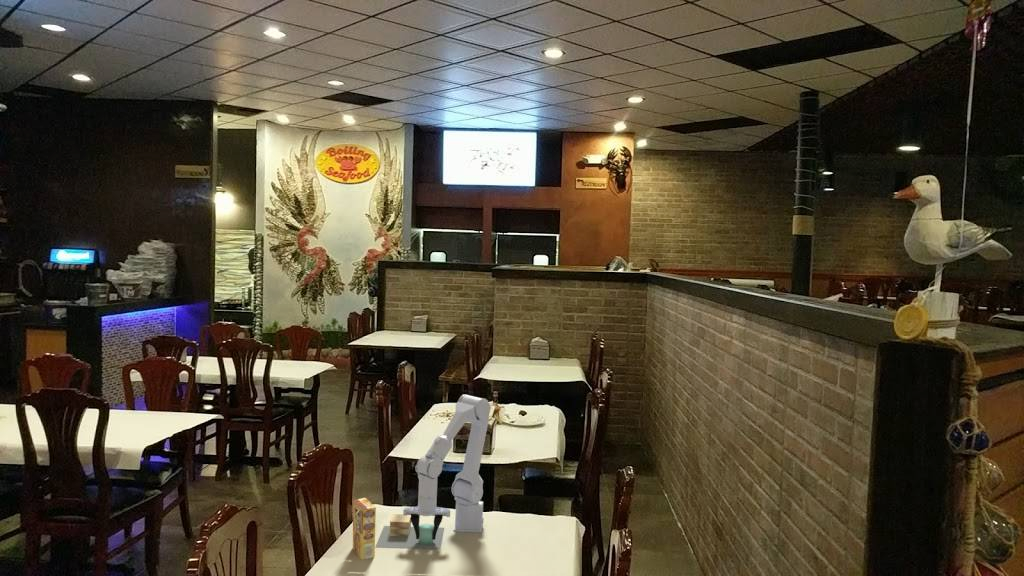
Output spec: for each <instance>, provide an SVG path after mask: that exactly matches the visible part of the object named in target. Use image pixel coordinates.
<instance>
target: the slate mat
mask: <svg viewBox="0 0 1024 576" xmlns="http://www.w3.org/2000/svg"><path fill="white" fill-rule="evenodd" d="M444 533H445V527H440V526H439V527H438V530H437V533H436V538H435V540H433V544H431V545H428V546H423V545H420V544H419V543H418V541H419V539H416V533H415V530H414V527H413V526H411V529H410V533H409V536H390V525H384V526H383V528H382V530H381V533H380V535H379V537H378V540H377V542H376V543H375V549H376V548H377V549H379V548H381V549H384V548H385V549H407V550H409V549H412V550H413V549H414V550H416V549H417V550H441V548H442V544H443V537H444Z"/></svg>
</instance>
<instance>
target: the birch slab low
mask: <svg viewBox="0 0 1024 576" xmlns="http://www.w3.org/2000/svg"><path fill="white" fill-rule="evenodd" d="M411 527H412V522H411V523H410V527H409V529H390V536H409V533H410V529H411Z"/></svg>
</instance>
